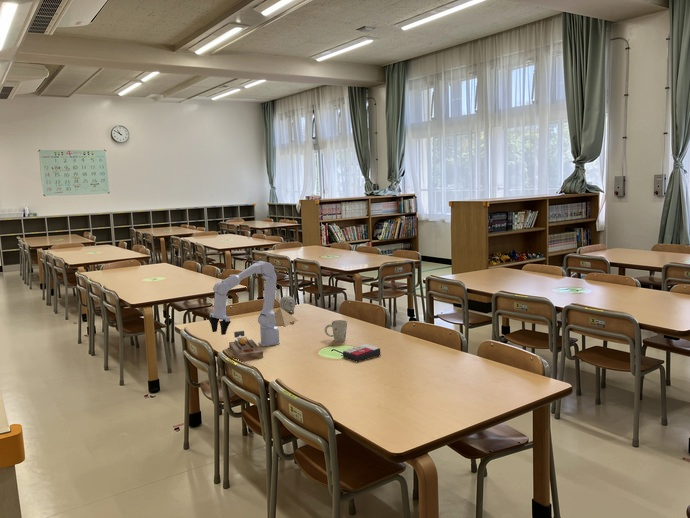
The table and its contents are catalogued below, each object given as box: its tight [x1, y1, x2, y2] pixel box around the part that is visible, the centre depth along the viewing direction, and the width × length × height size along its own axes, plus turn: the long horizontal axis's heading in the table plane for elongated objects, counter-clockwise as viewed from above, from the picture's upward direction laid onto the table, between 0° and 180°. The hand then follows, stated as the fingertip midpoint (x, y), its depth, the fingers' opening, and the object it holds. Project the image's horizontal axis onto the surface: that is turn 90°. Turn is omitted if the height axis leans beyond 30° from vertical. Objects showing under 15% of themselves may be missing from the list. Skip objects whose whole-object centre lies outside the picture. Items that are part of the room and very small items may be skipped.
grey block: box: [233, 330, 247, 343], centre depth 283 cm, size 5×8×4 cm, turn 22°
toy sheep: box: [279, 295, 296, 314], centre depth 358 cm, size 11×17×11 cm, turn 34°
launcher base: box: [228, 337, 264, 362], centre depth 273 cm, size 12×24×4 cm, turn 22°
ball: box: [240, 337, 248, 345], centre depth 277 cm, size 4×4×4 cm
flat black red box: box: [342, 343, 381, 363], centre depth 263 cm, size 11×4×15 cm
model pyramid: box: [274, 307, 299, 328], centre depth 332 cm, size 17×17×10 cm
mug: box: [324, 319, 348, 342], centre depth 291 cm, size 8×13×10 cm, turn 78°
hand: (219, 333), depth 272 cm, fingers open, 7 cm apart
